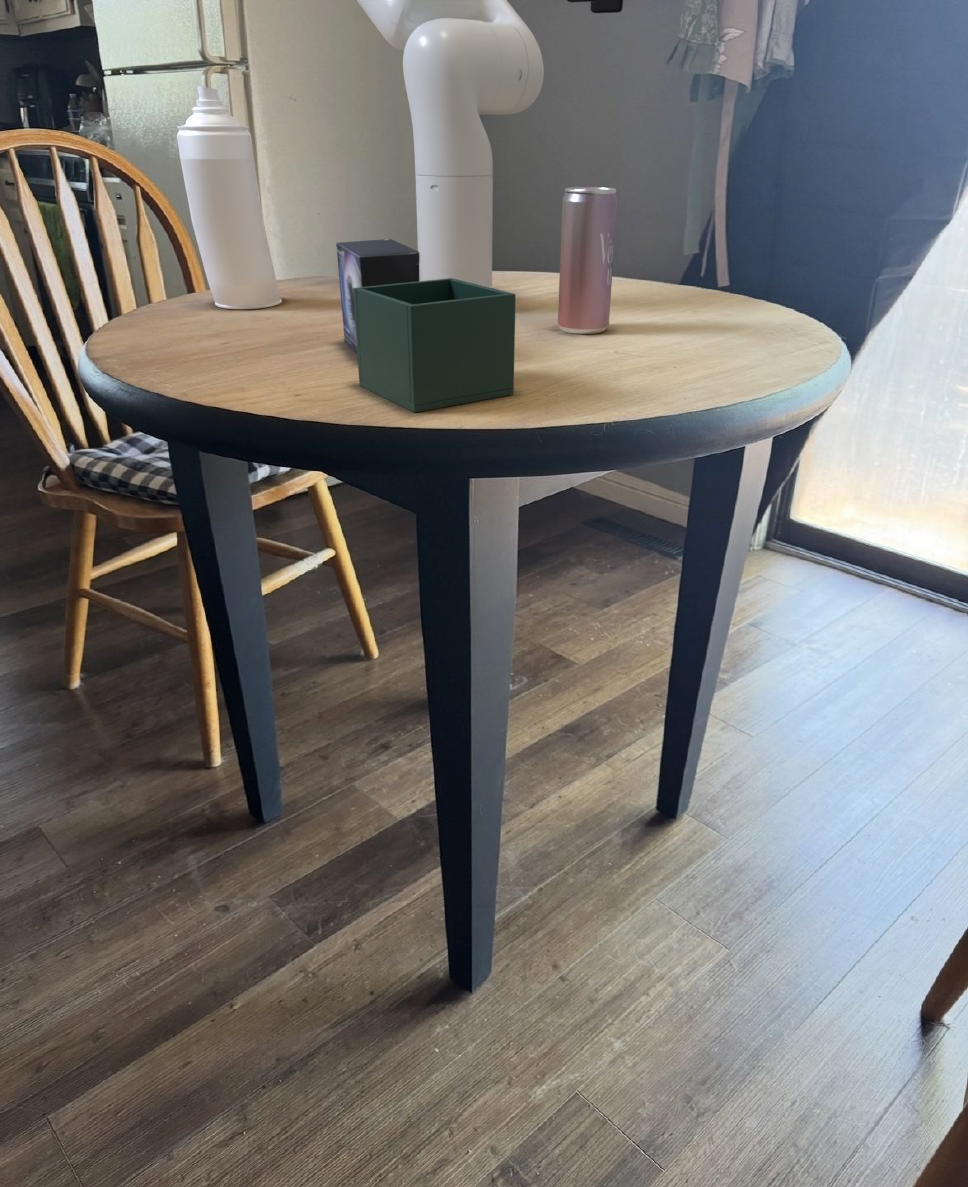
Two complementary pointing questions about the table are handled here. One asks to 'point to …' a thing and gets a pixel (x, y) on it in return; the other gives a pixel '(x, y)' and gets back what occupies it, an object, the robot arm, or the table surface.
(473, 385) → the bin
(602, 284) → the beverage can
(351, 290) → the small box
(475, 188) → the robot arm
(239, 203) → the spray can
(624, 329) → the table surface
